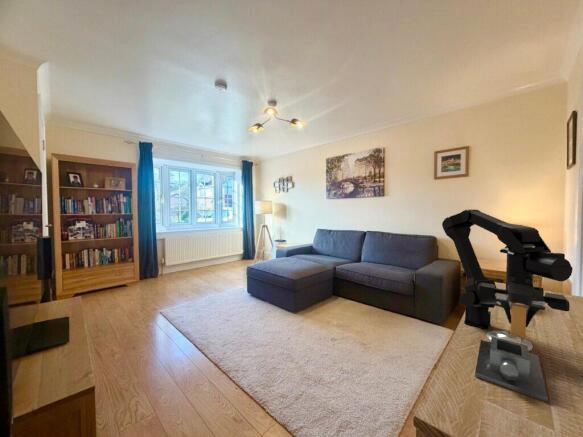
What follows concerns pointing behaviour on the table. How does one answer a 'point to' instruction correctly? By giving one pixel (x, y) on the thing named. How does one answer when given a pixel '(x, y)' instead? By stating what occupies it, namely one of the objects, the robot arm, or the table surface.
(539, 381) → the bracket
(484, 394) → the table surface
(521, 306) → the orange rectangular prism
